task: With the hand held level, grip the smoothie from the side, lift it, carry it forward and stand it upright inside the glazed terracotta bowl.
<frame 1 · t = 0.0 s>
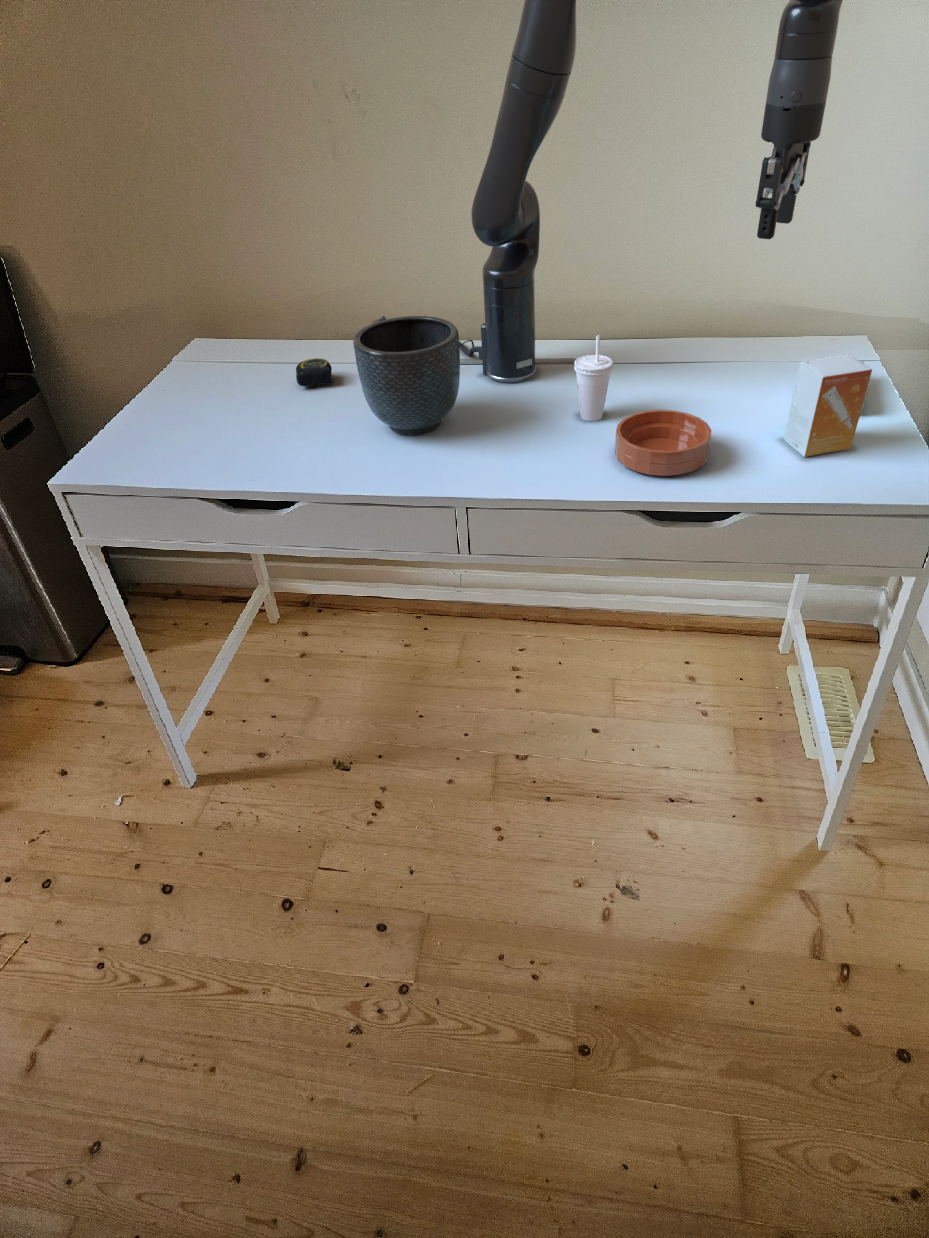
hand: (774, 230, 117), 29 cm above the table, tool pointing down, fingers open, 8 cm apart
small box: (816, 446, 127), on the table
eyeglasses: (426, 358, 166), on the table
handheld gaming device: (831, 397, 140), on the table
planter: (415, 425, 142), on the table
tape measure: (318, 384, 159), on the table
smoothie: (591, 417, 140), on the table
bowl: (660, 456, 128), on the table
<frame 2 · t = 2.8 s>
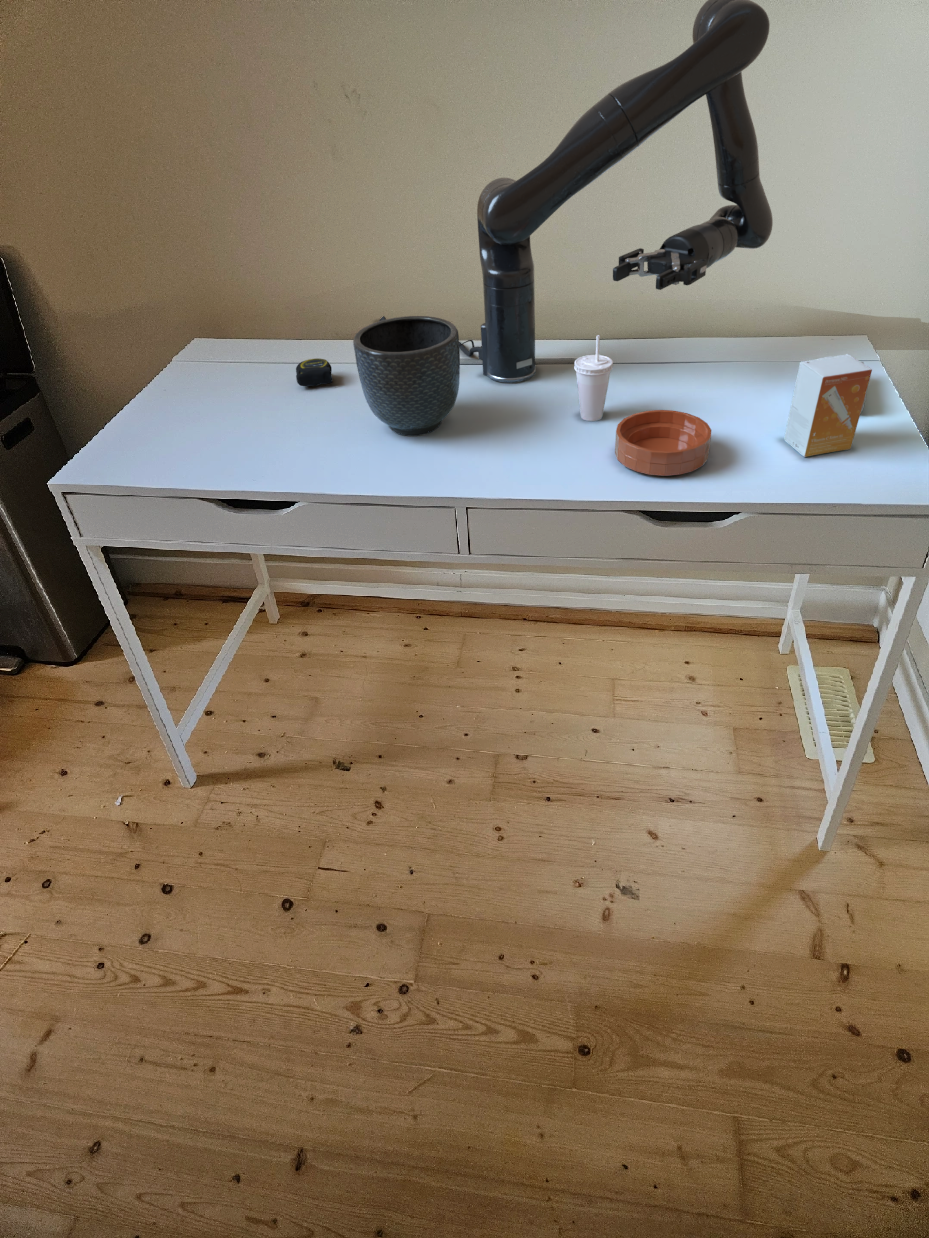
hand: (635, 279, 133), 20 cm above the table, tool horizontal, fingers open, 8 cm apart
nothing on the table moved.
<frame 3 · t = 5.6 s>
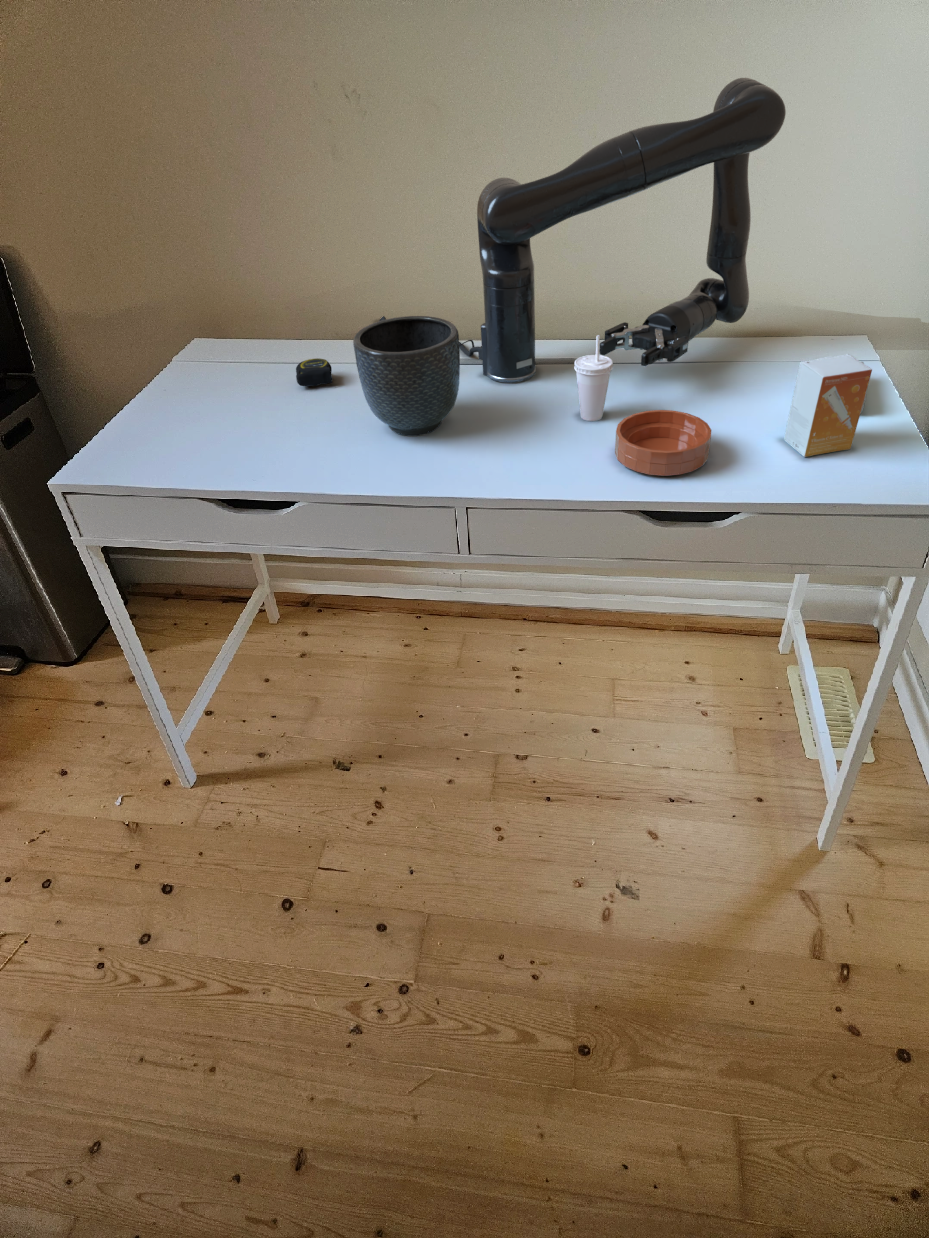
hand: (622, 355, 139), 8 cm above the table, tool horizontal, fingers open, 8 cm apart
nothing on the table moved.
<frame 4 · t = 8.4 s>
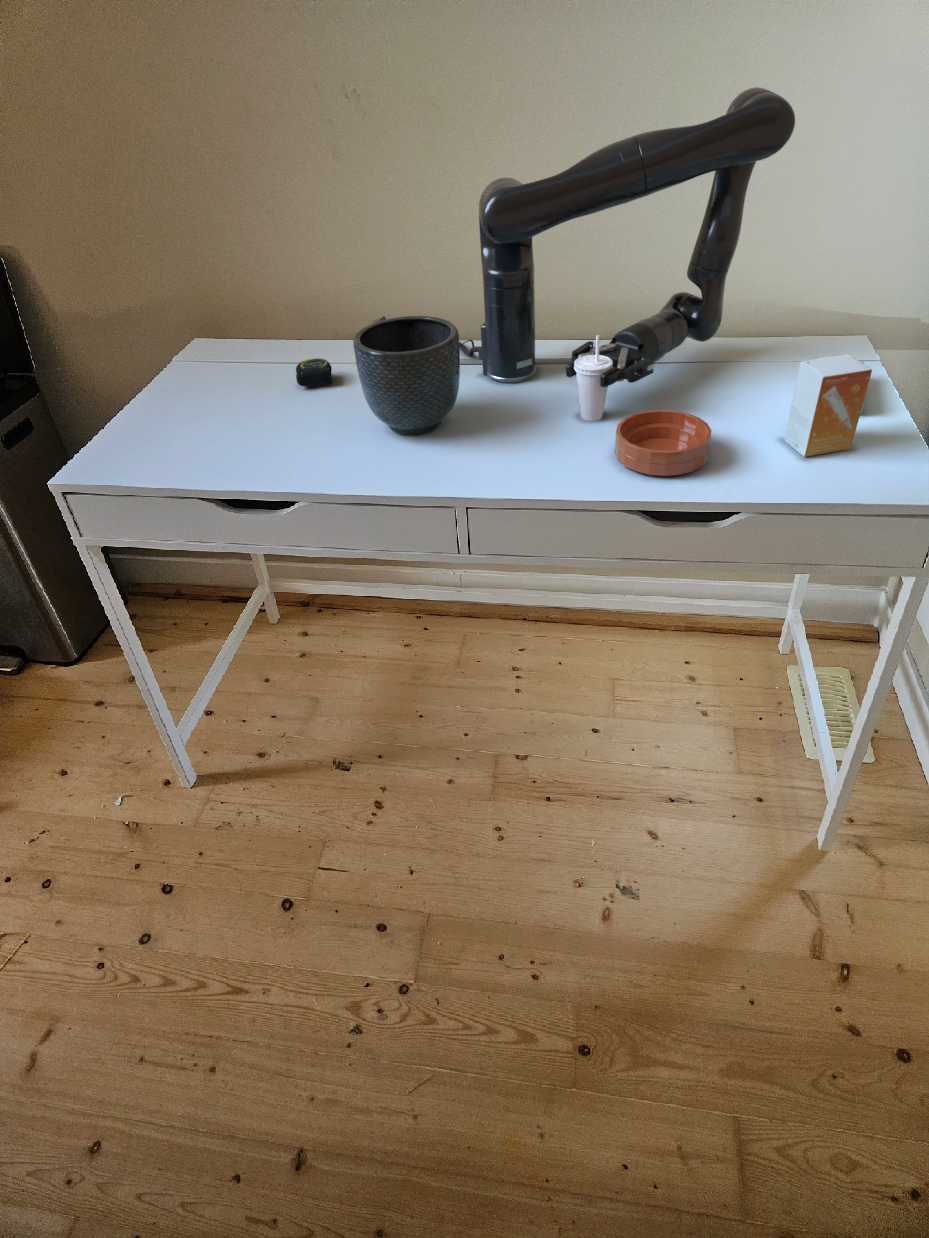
hand: (584, 376, 134), 8 cm above the table, tool horizontal, fingers closed on smoothie, 6 cm apart
smoothie: (591, 417, 140), on the table, touching gripper
everything else where it was.
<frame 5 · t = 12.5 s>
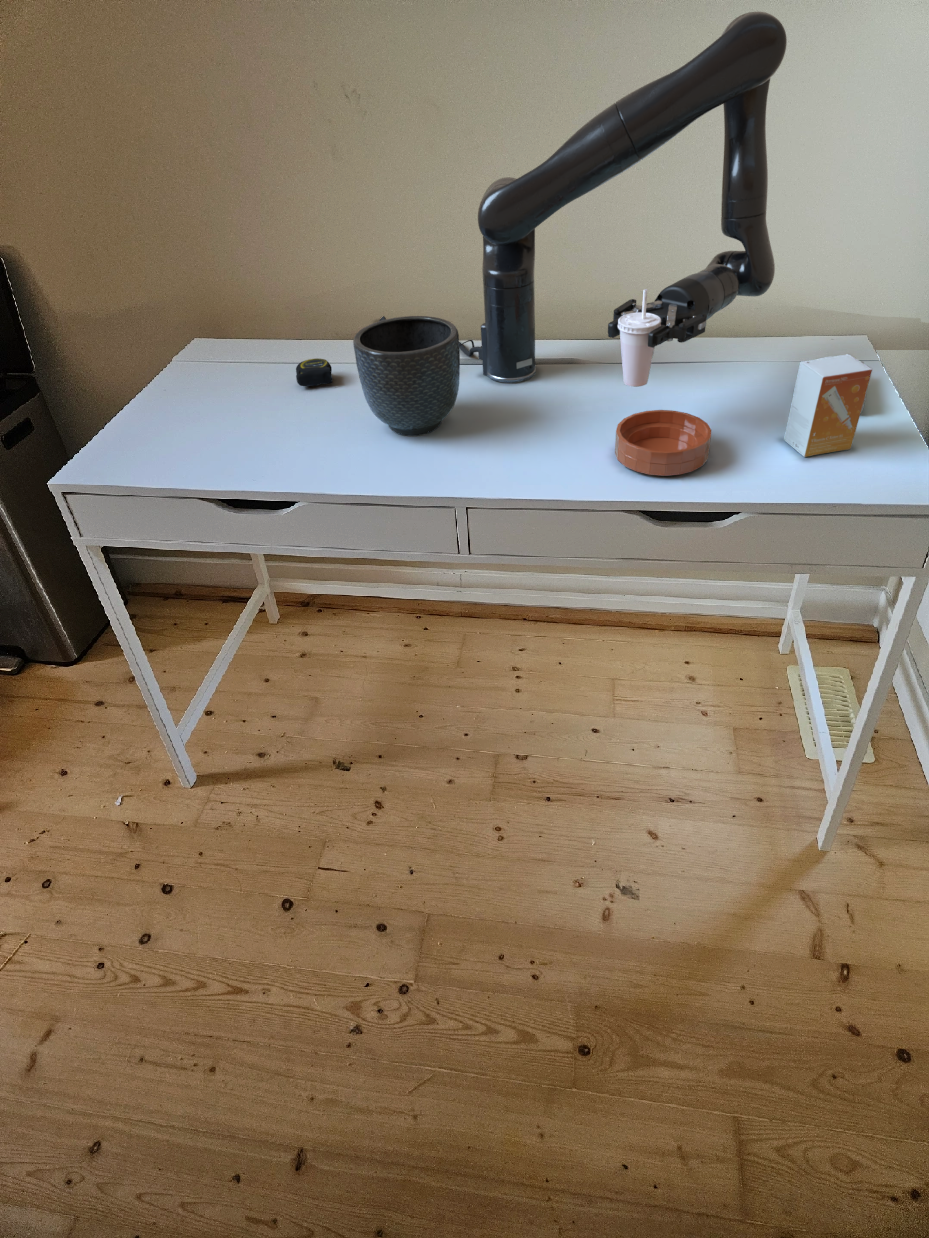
hand: (630, 335, 121), 18 cm above the table, tool horizontal, fingers closed on smoothie, 6 cm apart
smoothie: (635, 383, 127), point 9 cm above the table, touching gripper
everything else where it was.
when the fingers open (9 cm above the table, at t = 16.8 s): smoothie stays where it is, resting on bowl.
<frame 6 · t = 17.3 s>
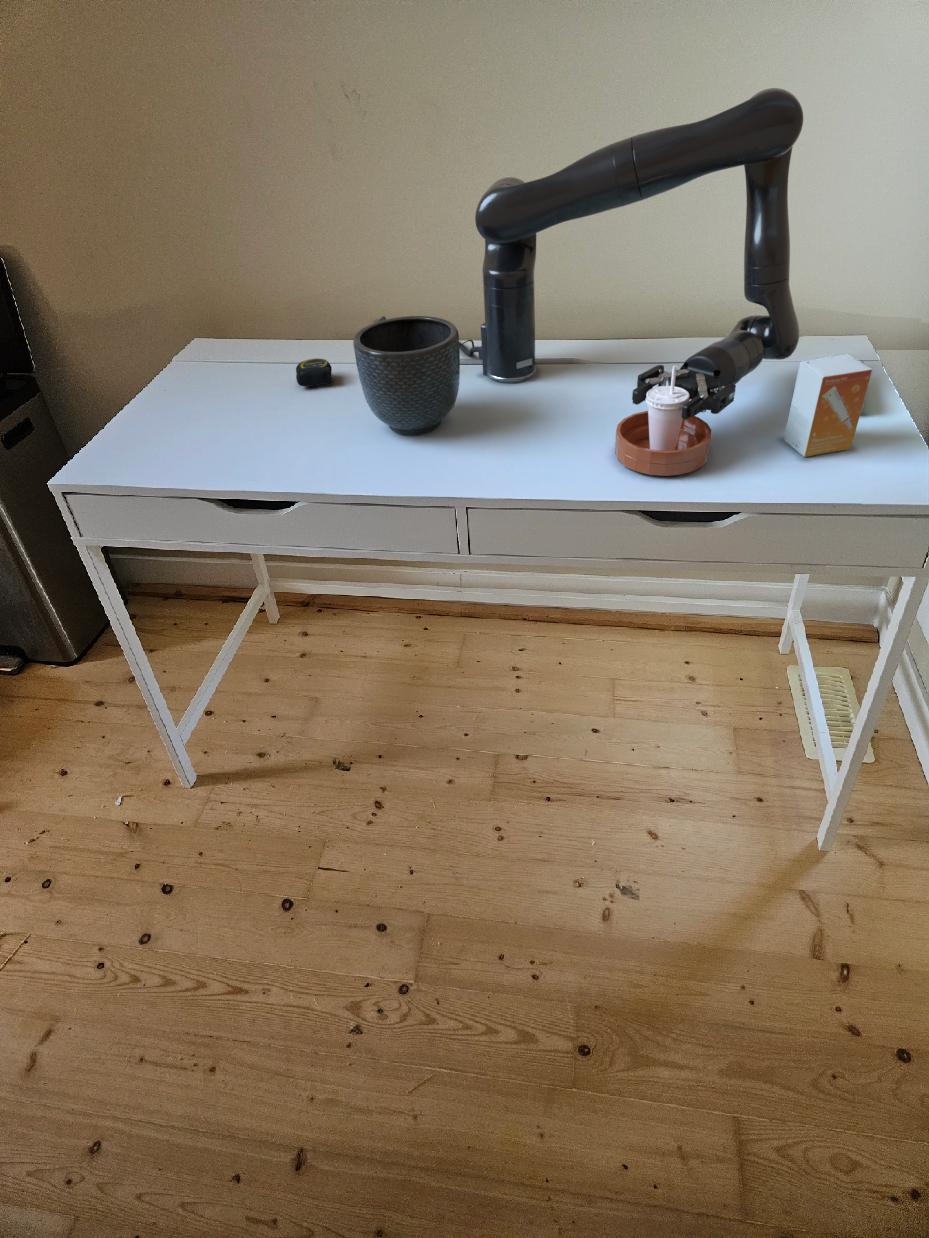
hand: (659, 405, 121), 9 cm above the table, tool horizontal, fingers open, 8 cm apart
smoothie: (661, 453, 128), resting on bowl
everything else where it was.
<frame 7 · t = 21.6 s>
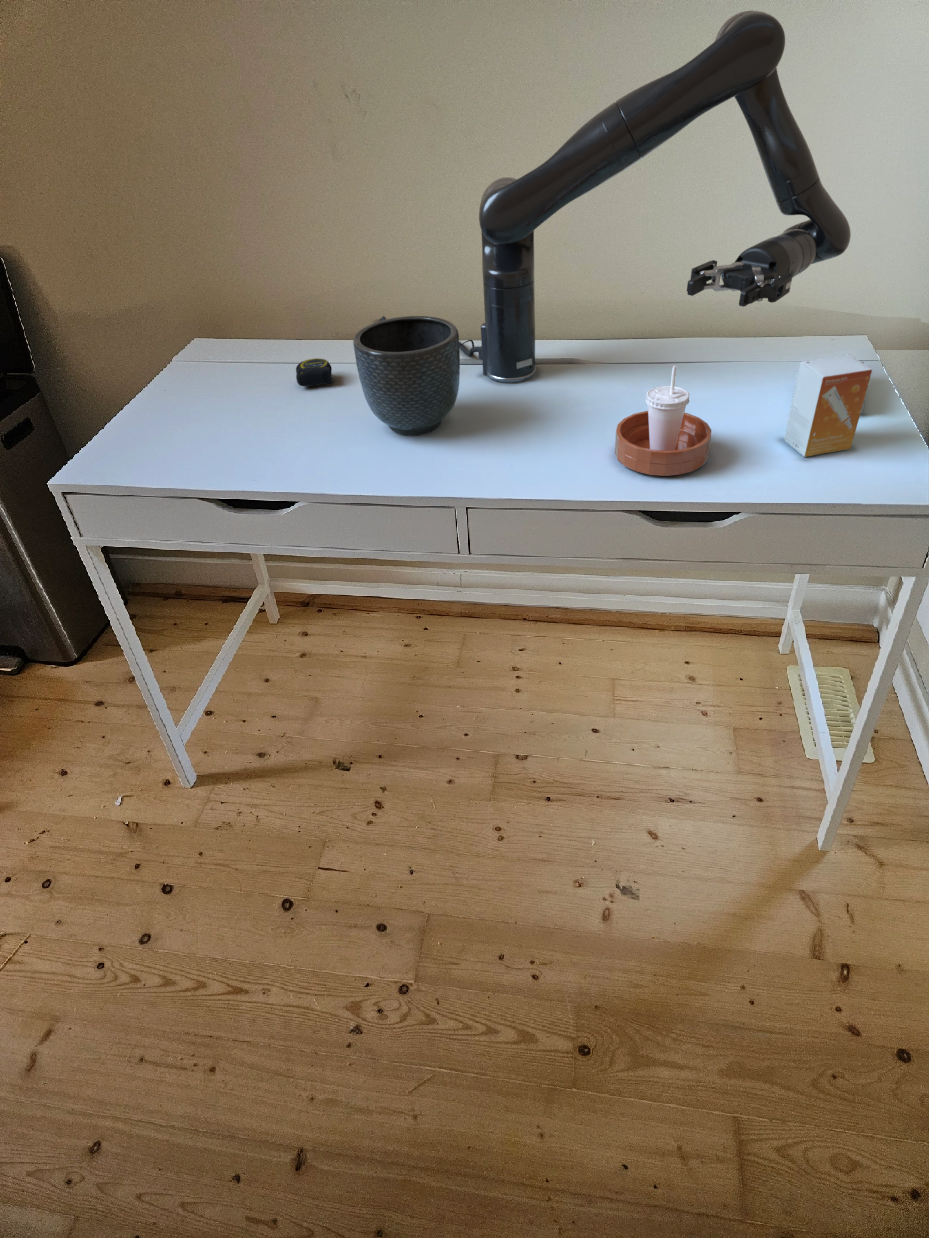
hand: (715, 294, 120), 22 cm above the table, tool horizontal, fingers open, 8 cm apart
nothing on the table moved.
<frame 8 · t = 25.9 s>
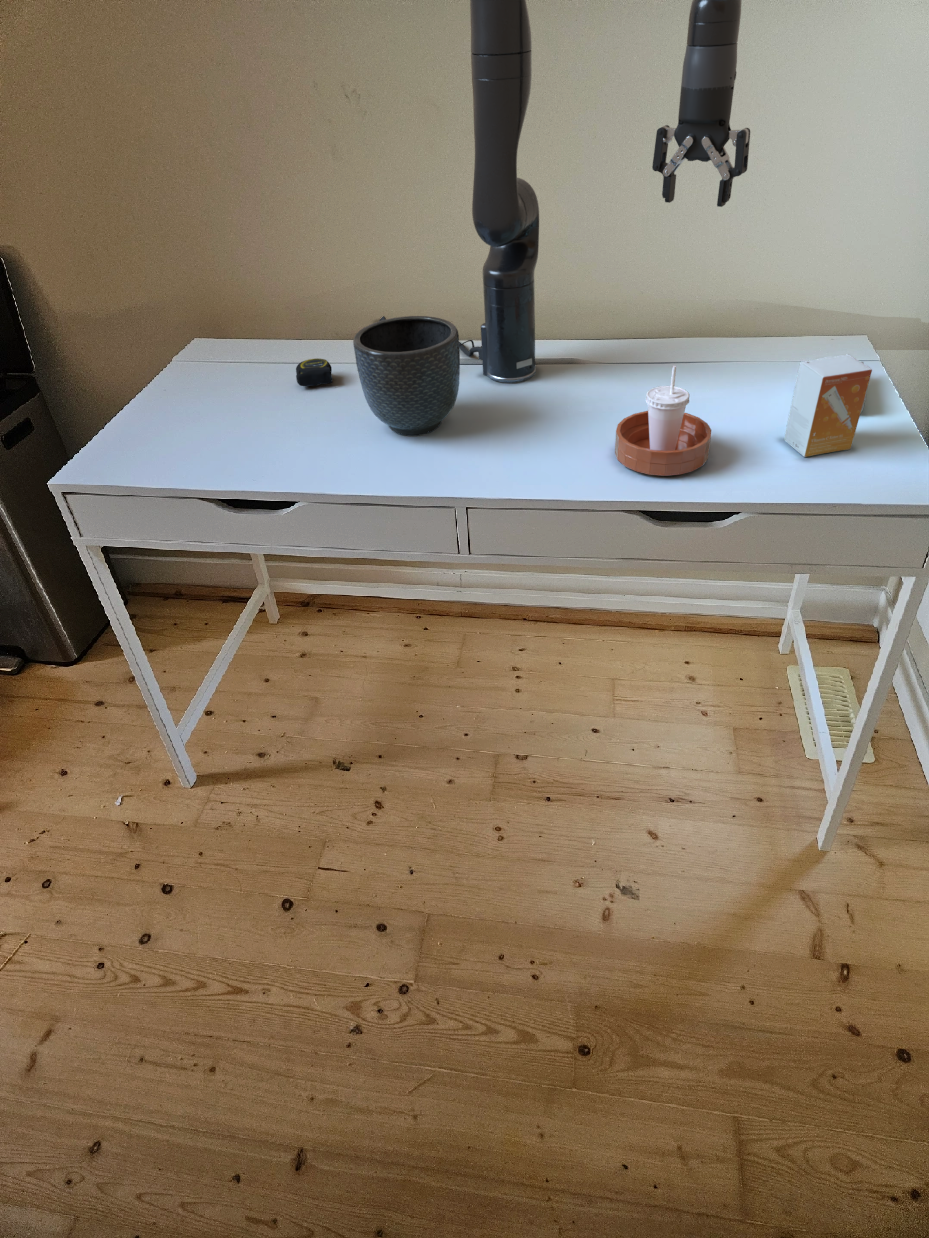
hand: (695, 203, 129), 30 cm above the table, tool pointing down, fingers open, 8 cm apart
nothing on the table moved.
at the end: smoothie inside the target area in the bowl (0.2 cm from its centre), point 0.4 cm above the bowl's base; smoothie tilted 0°; the gripper is holding nothing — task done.
